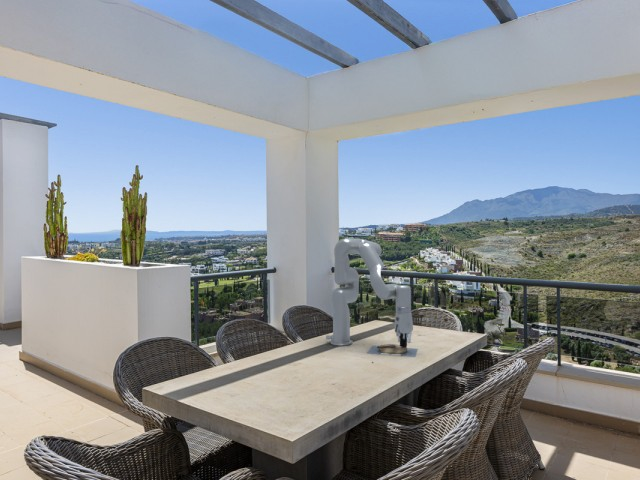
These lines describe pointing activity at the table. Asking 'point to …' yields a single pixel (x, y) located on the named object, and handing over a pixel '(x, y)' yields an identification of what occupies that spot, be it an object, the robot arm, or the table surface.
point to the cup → (406, 338)
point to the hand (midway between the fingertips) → (403, 346)
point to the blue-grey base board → (410, 353)
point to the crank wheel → (392, 349)
